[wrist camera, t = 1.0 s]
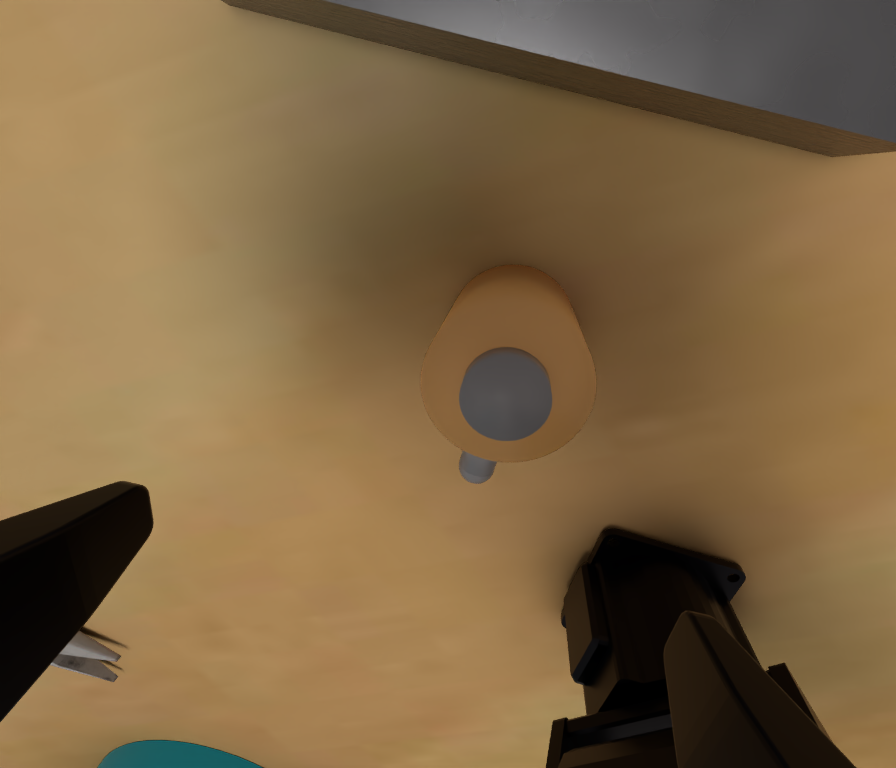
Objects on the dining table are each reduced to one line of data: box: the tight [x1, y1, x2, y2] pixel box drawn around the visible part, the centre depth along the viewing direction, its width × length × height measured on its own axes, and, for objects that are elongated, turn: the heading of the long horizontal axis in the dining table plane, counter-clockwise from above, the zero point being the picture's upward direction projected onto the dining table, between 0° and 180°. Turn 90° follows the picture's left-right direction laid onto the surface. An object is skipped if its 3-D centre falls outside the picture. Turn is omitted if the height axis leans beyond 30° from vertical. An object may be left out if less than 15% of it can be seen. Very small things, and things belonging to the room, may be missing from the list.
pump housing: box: [421, 265, 597, 484], centre depth 15 cm, size 5×7×7 cm
